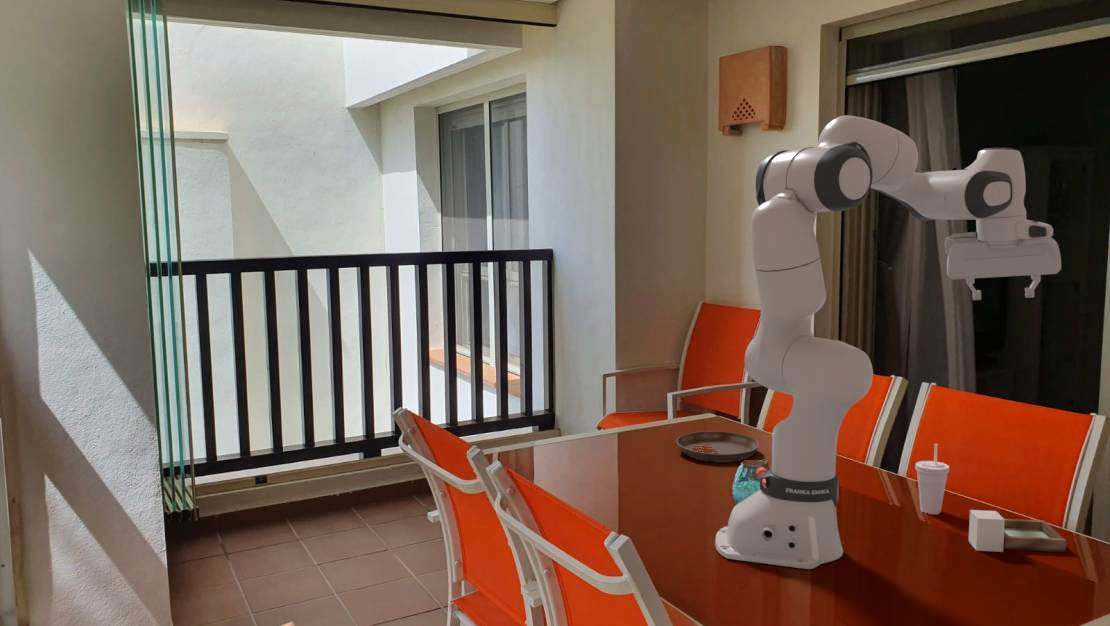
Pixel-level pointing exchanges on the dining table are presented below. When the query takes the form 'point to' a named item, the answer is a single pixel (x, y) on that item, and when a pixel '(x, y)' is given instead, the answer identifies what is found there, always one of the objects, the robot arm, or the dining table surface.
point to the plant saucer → (718, 445)
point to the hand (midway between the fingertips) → (1003, 298)
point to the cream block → (986, 530)
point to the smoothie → (931, 484)
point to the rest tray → (1032, 536)
